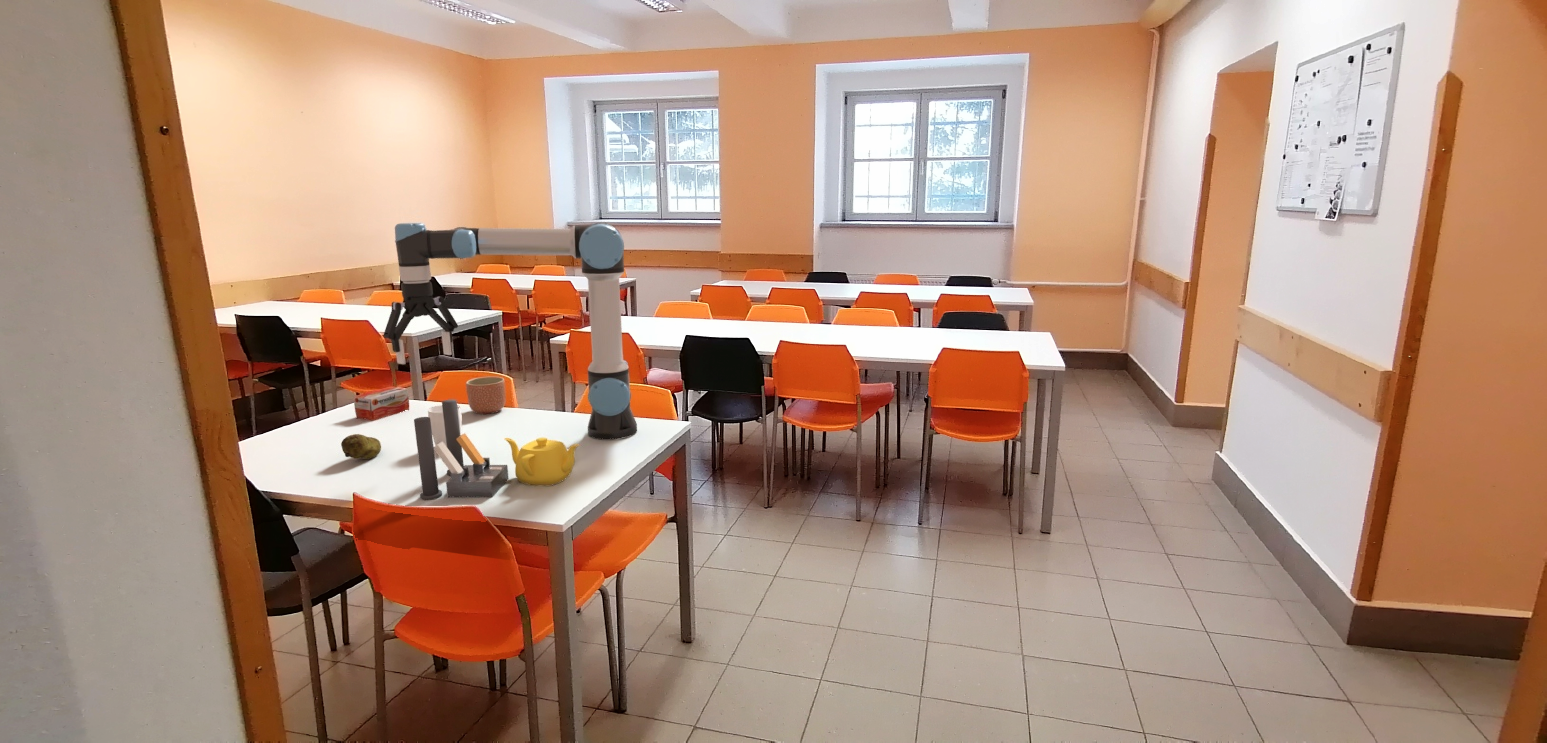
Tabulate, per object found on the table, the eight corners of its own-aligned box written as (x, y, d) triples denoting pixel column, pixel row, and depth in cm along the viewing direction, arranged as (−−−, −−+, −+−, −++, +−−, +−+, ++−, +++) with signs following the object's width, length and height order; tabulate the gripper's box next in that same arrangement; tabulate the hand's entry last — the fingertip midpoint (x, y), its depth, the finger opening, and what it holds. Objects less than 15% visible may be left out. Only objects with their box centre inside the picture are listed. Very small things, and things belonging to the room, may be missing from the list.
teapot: (487, 486, 193) (483, 446, 190) (521, 465, 207) (518, 428, 205) (564, 494, 187) (560, 453, 185) (594, 472, 202) (591, 434, 199)
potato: (394, 453, 218) (391, 426, 216) (355, 468, 207) (351, 440, 205) (373, 449, 221) (370, 423, 220) (334, 464, 210) (330, 437, 208)
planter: (461, 415, 255) (458, 384, 252) (481, 405, 267) (478, 375, 264) (495, 417, 253) (492, 385, 250) (513, 407, 265) (511, 377, 262)
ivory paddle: (466, 473, 189) (443, 440, 187) (461, 478, 186) (437, 444, 184) (461, 476, 189) (437, 443, 187) (456, 481, 186) (432, 448, 184)
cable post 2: (470, 469, 205) (462, 398, 200) (462, 476, 200) (454, 403, 195) (451, 469, 205) (443, 398, 200) (444, 476, 200) (435, 403, 195)
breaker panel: (508, 479, 198) (506, 456, 196) (492, 497, 186) (489, 473, 185) (466, 479, 198) (464, 457, 196) (447, 497, 186) (445, 473, 185)
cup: (452, 453, 218) (448, 413, 215) (425, 451, 219) (420, 412, 217) (471, 443, 226) (467, 405, 224) (444, 441, 228) (440, 403, 225)
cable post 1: (445, 492, 189) (436, 415, 185) (437, 499, 185) (427, 421, 180) (425, 492, 189) (416, 416, 185) (416, 500, 185) (406, 422, 180)
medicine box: (372, 421, 249) (369, 398, 248) (355, 419, 253) (352, 396, 251) (410, 410, 263) (408, 387, 261) (394, 407, 266) (391, 385, 264)
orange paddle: (488, 464, 195) (465, 432, 193) (483, 468, 192) (460, 436, 190) (483, 467, 195) (460, 435, 193) (478, 471, 192) (455, 439, 190)
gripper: (450, 276, 214) (457, 349, 219) (362, 285, 194) (373, 365, 199) (466, 277, 210) (473, 352, 215) (377, 287, 190) (388, 369, 195)
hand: (425, 359), depth 207 cm, fingers open, 13 cm apart
